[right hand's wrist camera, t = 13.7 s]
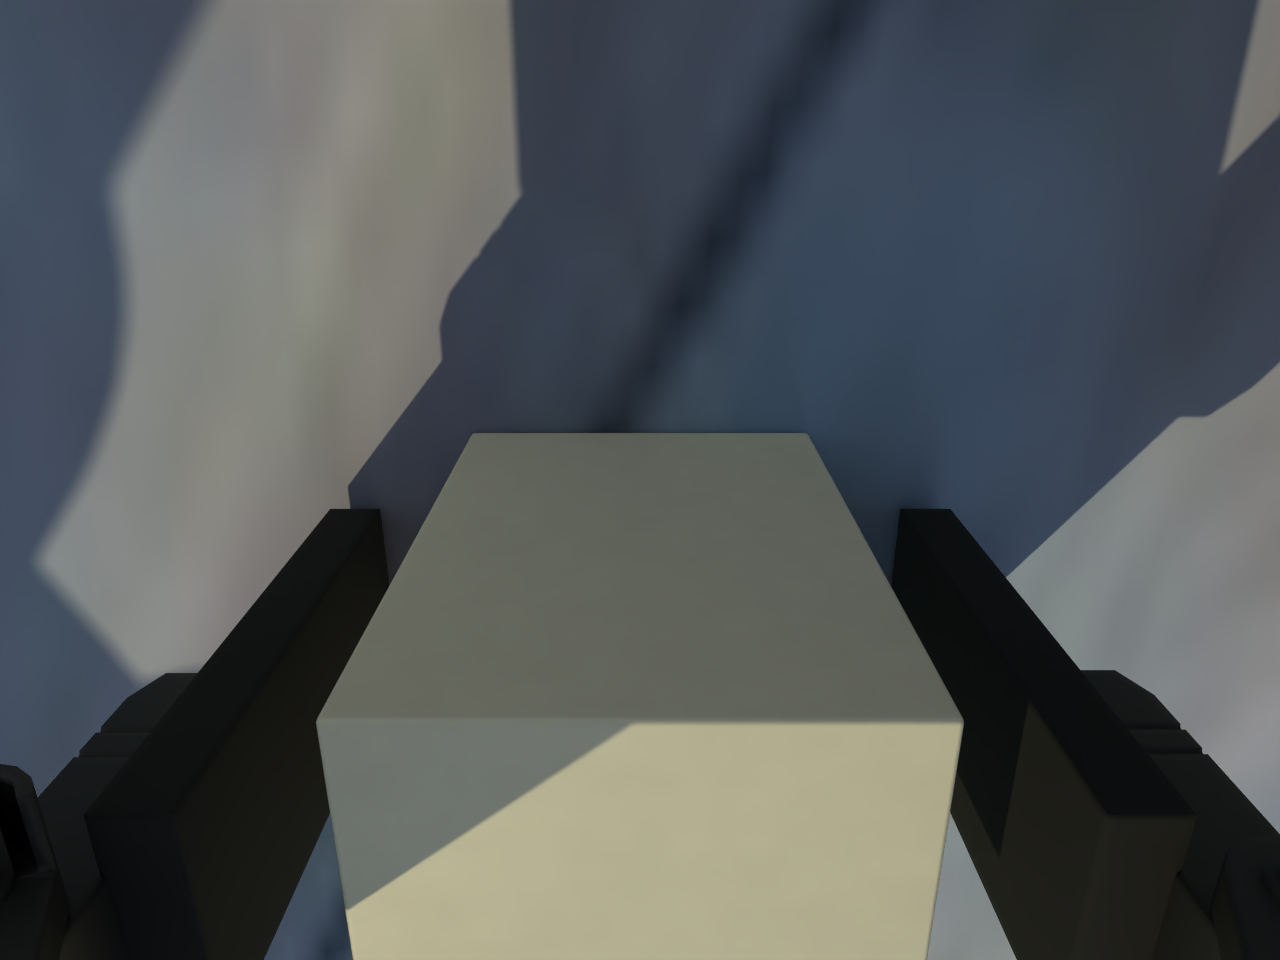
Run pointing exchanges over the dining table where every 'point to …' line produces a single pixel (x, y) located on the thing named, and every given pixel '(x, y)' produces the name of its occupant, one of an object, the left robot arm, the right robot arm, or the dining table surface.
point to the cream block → (640, 717)
